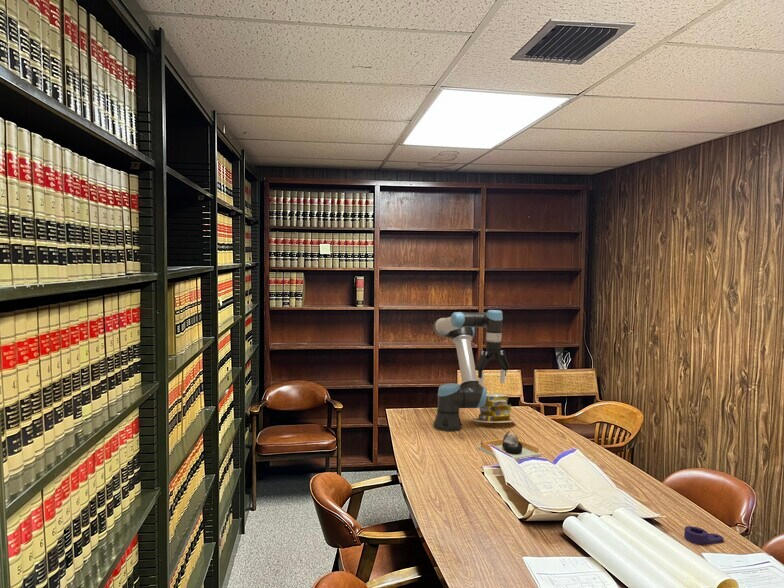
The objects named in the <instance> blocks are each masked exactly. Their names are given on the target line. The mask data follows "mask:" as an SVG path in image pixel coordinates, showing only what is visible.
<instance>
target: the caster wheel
mask: <svg viewBox="0 0 784 588" xmlns="http://www.w3.org/2000/svg"><path fill="white" fill-rule="evenodd" d="M502 439H503V445H502V448H503V447H504V450H505V451H506V452H508V453H510V454H520V453H521V452H522V447H523V446H522V444H521V443H520V442H518V439H519V436H517V435H514V434H512V433H510V430H508V431H507V432H506V433H505V434H504V435H503V438H502Z"/></svg>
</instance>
